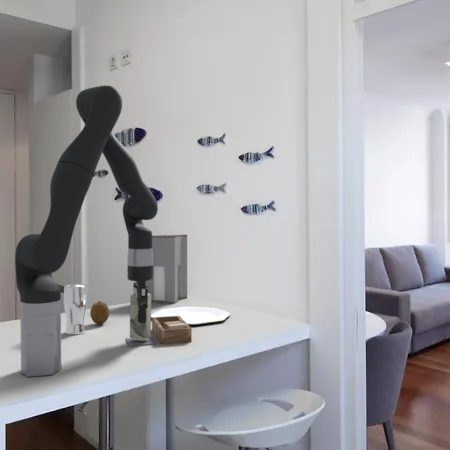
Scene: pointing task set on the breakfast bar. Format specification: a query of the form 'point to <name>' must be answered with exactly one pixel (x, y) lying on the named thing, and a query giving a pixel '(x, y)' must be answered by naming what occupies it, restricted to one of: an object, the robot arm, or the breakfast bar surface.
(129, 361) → the breakfast bar surface
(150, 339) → the mat
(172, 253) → the cabinet
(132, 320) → the box
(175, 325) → the offcut
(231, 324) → the breakfast bar surface
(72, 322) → the beer glass
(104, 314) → the fruit
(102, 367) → the breakfast bar surface
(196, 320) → the plate
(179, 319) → the wooden tray
